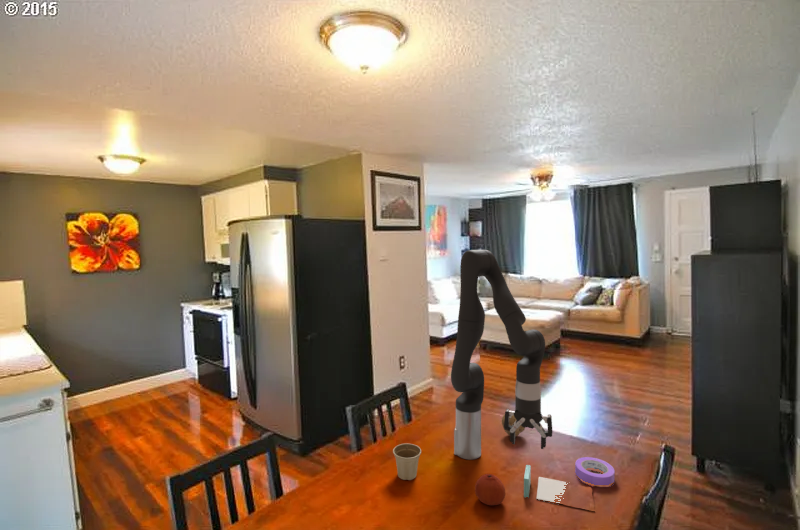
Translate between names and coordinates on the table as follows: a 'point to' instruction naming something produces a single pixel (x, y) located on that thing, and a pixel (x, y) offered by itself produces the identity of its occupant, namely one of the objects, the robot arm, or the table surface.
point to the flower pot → (407, 460)
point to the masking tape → (591, 477)
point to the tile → (527, 480)
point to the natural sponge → (511, 422)
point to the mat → (550, 489)
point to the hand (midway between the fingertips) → (527, 445)
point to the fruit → (490, 490)
